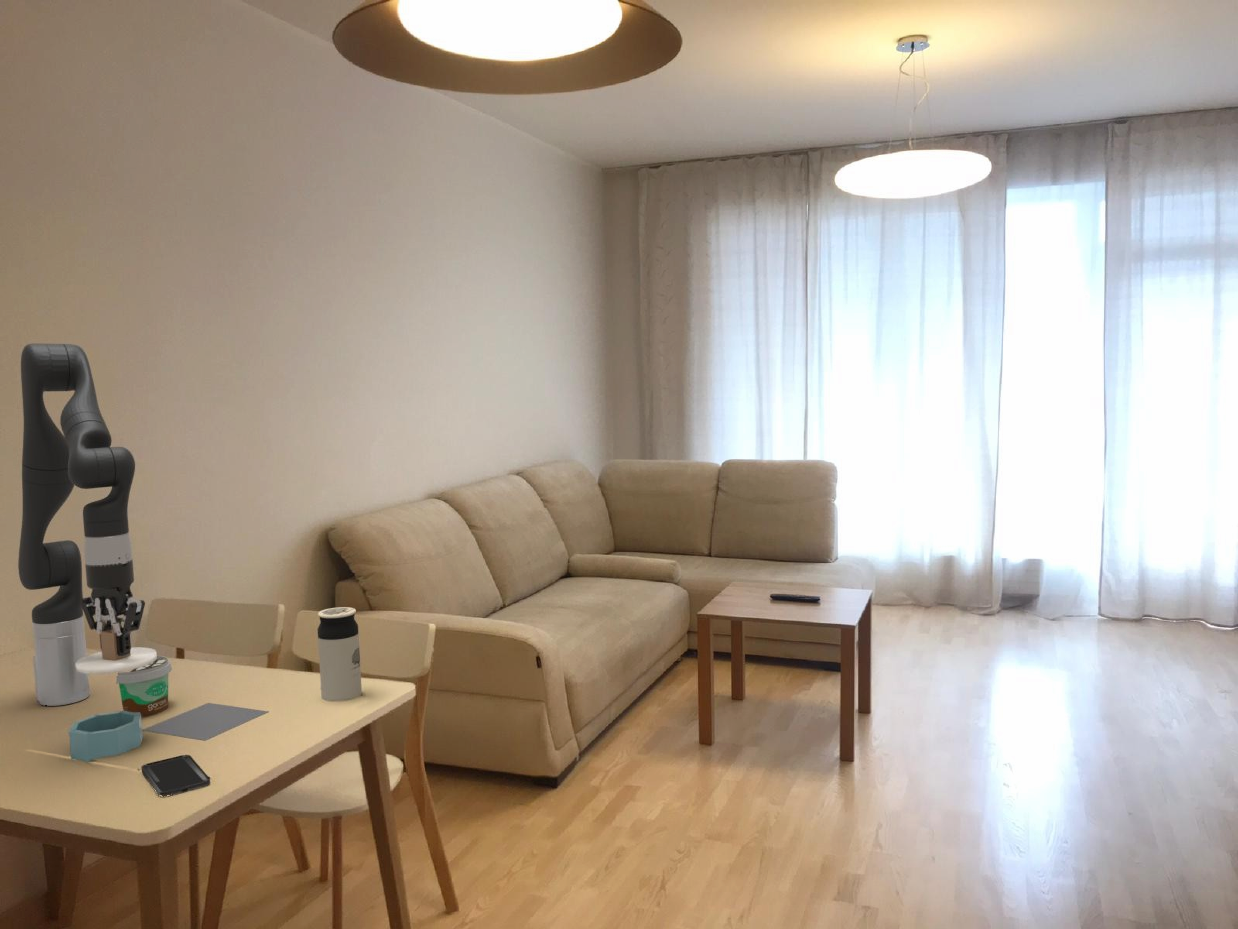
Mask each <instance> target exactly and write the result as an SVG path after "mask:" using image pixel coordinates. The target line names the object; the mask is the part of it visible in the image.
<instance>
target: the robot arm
mask: <svg viewBox="0 0 1238 929" xmlns="http://www.w3.org/2000/svg"><path fill="white" fill-rule="evenodd" d="M20 357H21V358H20V379H21V380H20V381H21V395H22V412H23V413H22V414H23V432H22V434H23V435H22V439H23V440H22V458H21V485H22V486H21V488H22V519H21V529H20V539H19V549H18V560H17V561H18V562H17V563H18V564H17V565H18V567H17V568H18V576H19V581H20V583H21V585H22V586H23V588H24V589H26V590H31V591H33V590H36V591H37V590H42V589H43V590H44V589H49V588H56V587H58V590H57V591H56V593H55V594H54V595H52V596H51V597H50V598H48V599H46V600H45V601H43V602H41V603H38V604H37V605H35V606H34V607H33V608H32V609H31V624H32V632H33V633H32V634H33V642H34V644H33V645H34V653H35V654H34V656H33V657H32V662H33V664H32V665H33V673H34V685H35V692H36V693H35V695H36V701H37V702H39V704H40V705H42V706H45V705H47V706H46V707H54V706H56V707H57V706H65V705H69V704H70V705H71V704H74V703H77V702H80V701H83V700H85V699H87V698H88V697H90V681H89V674H85V673H80V672H78V671H77V670H76V662H77V661H78V660H79V659H81V658H83V657H85V656H88V654H87V644H86V633H85V621H84V620H85V618H86V621H87V624H88V626H89V629H90V630H95V631H96V632H97V634H98V635H99V642H100V643H99V645H100V650H101V651H102V646H101V633H100V632H102V631H105V630H109V629H112V628H115V631H116V634H117V636H116V643H117V654H118V656H124V655H127V654H129V653H130V650H131V648H132V643H131V633H132V632H134V631H138V630H140V626H141V622H142V618H143V614H144V610H145V605H146V602H145V600H144V599H140V600H138V599H135V598H134V596H133V593H132V591H131V586H132V584H133V583H134V581H135V576H134V575H135V574H134V562H133V559H134V558H133V548H132V540H131V536H130V530H129V527H130V526H129V517H128V516H129V514H128V509H129V508H128V507H129V499H130V492H131V488H132V485H133V480H134V477H135V472H136V462H135V458H134V455H133V454H132V452H131V451H130V450H129V449H128V448H126V447H123V446H112V435H111V433H110V430H109V428H108V426H107V424H106V422H105V420H104V417H103V415H102V412H101V410H100V407H99V402H98V398H97V393H96V388H95V384H94V383H95V382H94V379H93V373H92V369H91V366H90V362H89V359H88V356H87V354H86V352H85V351H84V349H83V348H82V347H81V346H79V345H76V344H72V343H27V344H26V345H25V346H24V347H23V349H22V352H21V356H20ZM71 391H74V392H73V394H72V396H71V397H70V399H69V400H68V401H67V402H66V404H65V405H64V407H63V409H62V411H61V414H60V418H59V419H60V420H59V424H60V427H61V430H60V429H59V428H58V427H57V425H56V423H55V422H54V421H53V419H52V417H51V415H50V414H49V413H48V410H47V408H46V405H45V401H44V392H71ZM75 486H76V487H77V488H78V489H79V488H80V489H81V490H82V489H84V490H89V489H102V488H110V487H111V490H110V492H109V494H108V495H107V496H105V497H104V498H101V499H98V500H95V501H91V502H88V503H87V504H85V505H84V507H83V508H82V520H83V534H84V544H83V553H84V564H85V565H84V566H85V567H84V568H85V576H86V577H85V578H86V586H87V588H88V589H91V593H90V595H89V596H87V597H84V596H83V594H84V592H83V563H82V562H83V561H82V555H81V551H80V548H79V547H78V545H77V543H76V542H75V541H73V540H67V539H66V540H59V541H51V542H50V541H49V542H44V539H45V537H46V536H45V535H46V532H47V530H48V527H49V525H50V524H51V521H52V520H53V519H54V517H55V516H56V514H57V513H58V511H60V509H61V508H62V506H63V505H64V504H65V502H66V501H67V500H68V498H69V497H70V495H71V494H72V492H73V490H74V487H75ZM84 616H85V618H84ZM122 622H123V626H122Z"/></svg>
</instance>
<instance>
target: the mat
mask: <svg viewBox="0 0 1238 929" xmlns="http://www.w3.org/2000/svg"><path fill="white" fill-rule="evenodd" d="M268 713H270V711H268V710H261V709H255V708H247V707H242V706H241V707H240V706H233V705H227V704H220V703H212V702H206V703H204V704H203V705H200V706H197V707H194V708H192V709H190V710H187V711H185V712H182V713H180V714H177V715H175V716H172V717H170V718H167V719H165V720H163V721H161V722H157V723H155V724H152V725H150V726H147V727H146V728H142V732H151V733H155V734H160V735H161V734H162V735H167V736H173V737H179V738H180V737H181V738H186V739H192V740H198V741H203V742H205V741H208V740H210V739H212V738H215V737H218V735H221V734H223V733H225V732H228V731H230V730H232V729H235V728H237V727H239V726H240V725H243V724H245V723H248V722H250V721H252V720H255V719H258V717H262V716H264V715H266V714H268Z"/></svg>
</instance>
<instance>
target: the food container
mask: <svg viewBox="0 0 1238 929" xmlns="http://www.w3.org/2000/svg"><path fill="white" fill-rule="evenodd" d="M172 670H173V667H172V666H171V661H170V660H169V659H168V657H167V656H163V655H157V659H156V660H155V661H154V662H152V663H150V664H148V665H145V666H143V667H139V668H136V669H132V670H129V671H122V672H116V673H117V675H116V682H115V683H116V684H118V686H119V693H120V698H121V704H122V711H128V712H134V713H141V718H145V717H149V716H154V715H157V714H159V713H162V712H163V711H166V710H167V709H168V707H169V674H170V673H171V672H172Z"/></svg>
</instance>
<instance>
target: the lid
mask: <svg viewBox="0 0 1238 929" xmlns="http://www.w3.org/2000/svg"><path fill="white" fill-rule="evenodd" d="M100 633H101V644H100V645H101V646H102V650H101V651H99V652H95V653H94V652H93V653H91V654H87V656H85V657H83V658H81V659H79V660H78V661H77V662H76V670H77V671H78V672H80V673H85V674H88V675H105V674H115V673H117V672H128V671H132V670H133V669H136V668H139V667H143V666H145V665H148V664H150V663H152V662H154V661H155V660H156V659H157V656H158V655H157V649H154V648H150V647H144V646H143V647H140V646H138V647H132V646H131V650H130V653H129V654H127V655H124V656H118V654H117V643H116V636H117V634H116V631H115V627H113V628H112V629H109V630H105V631H102V632H100ZM101 646H100V647H101Z"/></svg>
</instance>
